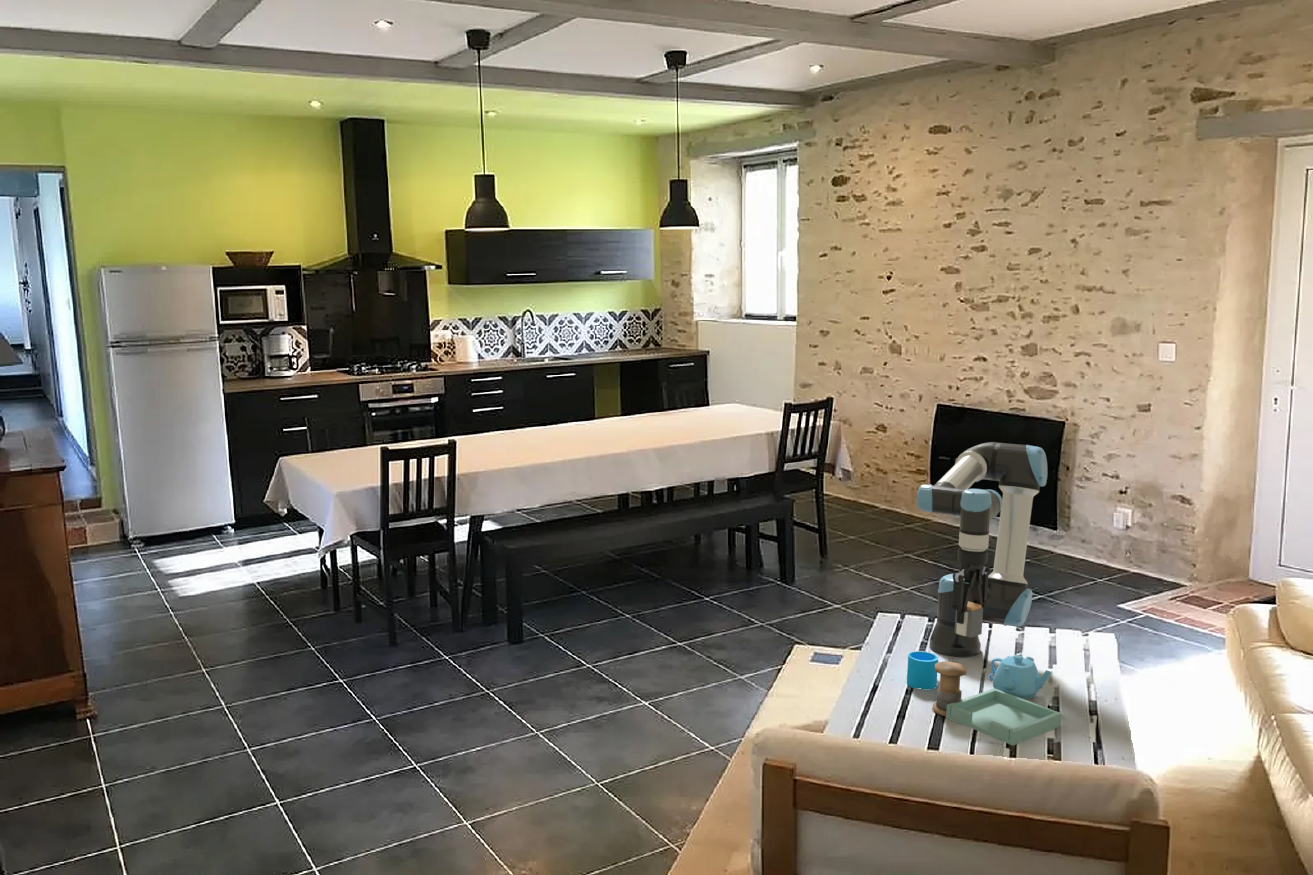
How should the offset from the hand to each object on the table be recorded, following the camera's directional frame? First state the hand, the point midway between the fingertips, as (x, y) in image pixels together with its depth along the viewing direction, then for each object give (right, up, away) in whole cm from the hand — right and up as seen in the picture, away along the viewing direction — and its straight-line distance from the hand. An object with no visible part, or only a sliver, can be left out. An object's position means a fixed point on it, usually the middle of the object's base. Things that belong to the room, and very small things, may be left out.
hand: (967, 632), depth 280 cm
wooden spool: (-7, -20, -6) cm, 22 cm away
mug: (-8, -17, +14) cm, 23 cm away
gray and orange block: (0, 0, 0) cm, 0 cm away
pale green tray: (+5, -21, -12) cm, 25 cm away
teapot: (+15, -19, +5) cm, 24 cm away
